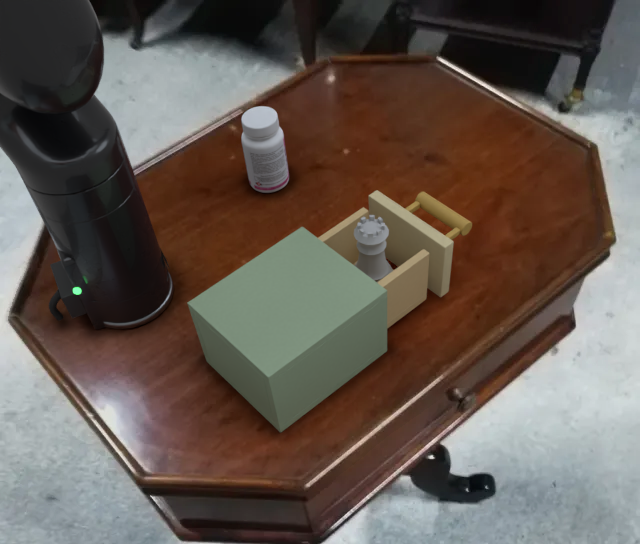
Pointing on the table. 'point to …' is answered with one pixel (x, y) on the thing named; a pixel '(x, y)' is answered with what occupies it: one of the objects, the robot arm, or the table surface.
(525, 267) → the table surface
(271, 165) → the pill bottle
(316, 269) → the cabinet
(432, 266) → the drawer
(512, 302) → the table surface
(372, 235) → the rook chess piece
